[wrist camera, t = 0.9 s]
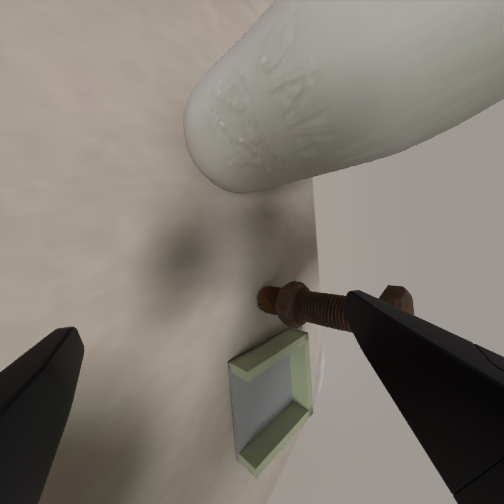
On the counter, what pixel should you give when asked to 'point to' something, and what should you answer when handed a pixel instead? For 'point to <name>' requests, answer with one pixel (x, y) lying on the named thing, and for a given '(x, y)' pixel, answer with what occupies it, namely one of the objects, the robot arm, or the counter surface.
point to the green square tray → (270, 397)
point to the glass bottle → (342, 86)
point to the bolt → (320, 305)
